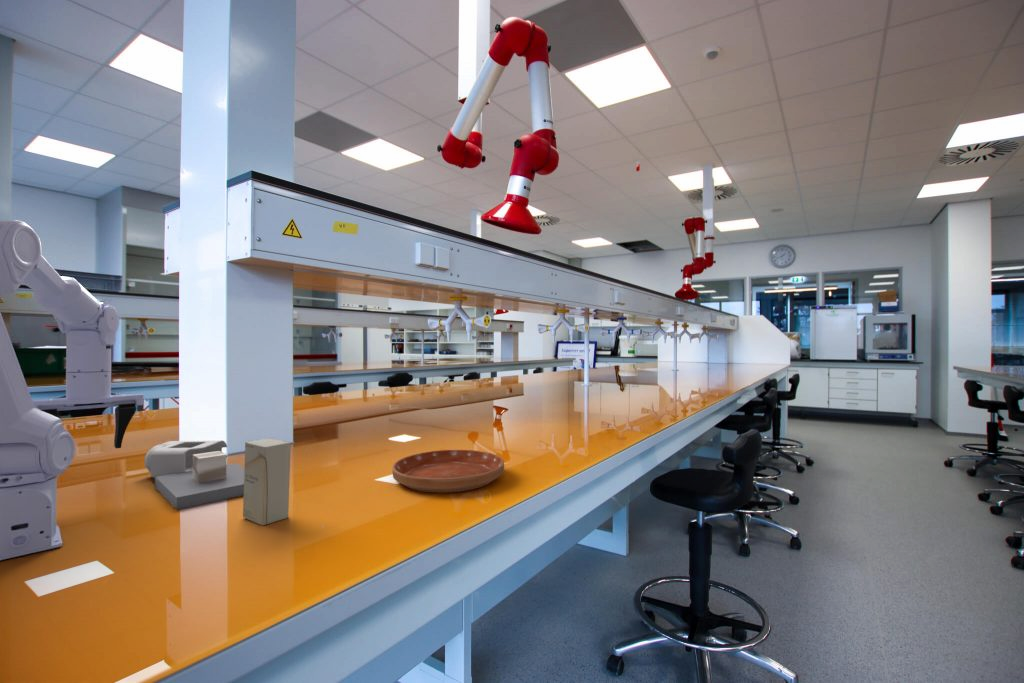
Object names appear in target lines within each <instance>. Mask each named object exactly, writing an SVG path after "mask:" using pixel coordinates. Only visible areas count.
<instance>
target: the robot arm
mask: <svg viewBox="0 0 1024 683" xmlns="http://www.w3.org/2000/svg"><path fill="white" fill-rule="evenodd" d="M42 248H43V247H42V243H41V238H40V236H39V235H38V234H37V232H36V231H34V229H33V228H32V227H31V226H30V225H28V224H27V223H26V222H24V221H22V220H17V219H13V220H12V219H11V220H0V298H1V297H4V296H6V295H8V294H11V293H14V292H16V291H17V290H18V289H19V287H21V285H22V284H23V285H25V286H26V287H28V288H30V289H31V290H33V291H34V292H33V297H34V300H35V302H36V303H37V304H38V305H39V306H40V307H42V308H43V309H45V310H46V311H47V312H48V313H50V314H51V315H52V316H53V318H54V321H55V322H56V323H57V326H58V329H59V331H60V332H61V333H62V334H64V335H66V336H65V337H66V340H65V341H66V343H65V344H66V345H65V346H66V347H65V348H66V349H65V350H66V351H65V354H66V356H65V397H59V398H58V397H57V398H46V399H45V398H44V399H33V398H32V396H31V393H30V390H29V388H28V384H27V382H26V379H25V377H24V373H23V371H22V369H21V368H22V367H21V364H20V363H19V360H18V357H17V354H16V352H15V349H14V348H15V347H13V346H14V345H13V343H12V340H11V337H10V335H9V333H8V329H7V326H6V323H5V321H4V319H3V316H2V313H1V311H0V561H3V560H7V559H11V558H16V557H21V556H25V555H30V554H34V553H38V552H43V551H47V550H52V549H55V548H60V547H62V546H63V539H62V534H61V530H60V526H59V525H57V501H58V500H57V493H58V492H57V490H58V487H57V486H58V483H57V482H58V481H57V480H58V476H60V475H62V474H64V472H65V471H66V470H67V469H68V468H69V466H70V465H71V464H72V462H73V459H74V457H75V453H76V442H75V440H74V437H73V436H72V435H71V433H70V432H69V431H68V430H67V429H66V428H65V426H64V425H63V421H62V419H61V418H60V412H59V411H72V410H87V409H99V408H114V416H115V417H114V418H115V419H114V420H115V422H114V423H115V424H114V425H115V431H114V439H113V440H114V441H113V446H114V448H115V449H121V448H122V443H123V440H124V436H125V433H126V430H127V428H128V427H129V424H130V422H131V420H132V419H133V417H134V416H135V413H136V412H137V406H143V405H144V394H143V393H133V394H112V346H113V345H115V342H116V335H117V332H118V330H119V326H120V318H119V313H118V310H117V308H116V307H115V305H111V304H109V303H108V302H100V301H99V300H98V299H97V298H96V297H95V296H93V295H92V294H91V292H89V291H88V290H87V289H86V288H85V287H84V286H83V285H82V284H81V283H80V282H78V280H77V279H75V278H74V277H73V276H72V277H71V276H63V275H62V276H61V275H60V274H59V273H58V271H57V270H55V269H54V267H53V266H52V265H51V264H50V263H49V262H48V261H47V259H46V258H45V257H44V256H43V255H42V254H43V251H42V250H43V249H42ZM100 403H101V404H100ZM90 404H91V405H90Z"/></svg>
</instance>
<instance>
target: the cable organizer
mask: <svg viewBox="0 0 1024 683" xmlns="http://www.w3.org/2000/svg"><path fill="white" fill-rule="evenodd" d="M223 448H228V445H227V442H226V441H224V440H220V439H219V440H169V441H166V442H163V443H160V444H157V445H155V446H153V447H151V448H150V449H149V450H148V451H147V452H146V454H145V456H144V461H143V462H144V463H143V464H144V467H145V468H146V470H147V471H148V472H149V473H150V476H151V477H152V478H154V479H155V477H156V476H162V475H168V474H174V473H180V472H186V471H192V470H193V455H194V454H201V453H208V452H215V451H221V452H223ZM227 457H228V455H227V454H226V459H227Z"/></svg>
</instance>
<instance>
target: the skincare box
mask: <svg viewBox="0 0 1024 683" xmlns="http://www.w3.org/2000/svg"><path fill="white" fill-rule="evenodd" d="M291 445H292V442H291V441H286V440H281V439H275V438H272V437H267V438H263V439H255V440H250V441H249V440H248V441H245V442H244V468H245V469H244V495H243V499H242V503H243V504H242V517H243V518H244V519H246V520H248V521H251V522H253V523H255V524H258V525H260V526H265V525H269V524H272V523H276V522H278V521H281V520H284V519H288V518H289V507H290V505H289V504H290V480H291V479H290V478H291V477H290V476H291V475H290V474H291Z"/></svg>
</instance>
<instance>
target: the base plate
mask: <svg viewBox="0 0 1024 683" xmlns="http://www.w3.org/2000/svg"><path fill="white" fill-rule="evenodd" d="M244 469H245V467H243V466H242V465H240V464H238V463H237V462H235V463H229V464H226V478H223V479H218V480H212V481H207V482H201V483H198V482H197V481H196V480H194V479H193V470H192V471H186V472H180V473H174V474H168V475H162V476H156V477H155V478H154V488H155V489H156V490H157V491H158V492H159V493H160V494H161V495H162V496H163V497H164V498H165V499H166V500H167V501H168V502H169V503H170V504H171V505H172V507H173V508H175V510H180V509H184V508H190V507H194V506H199V505H205V504H208V503H212V502H218V501H223V500H227V499H232V498H236V497H240V496H244Z"/></svg>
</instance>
